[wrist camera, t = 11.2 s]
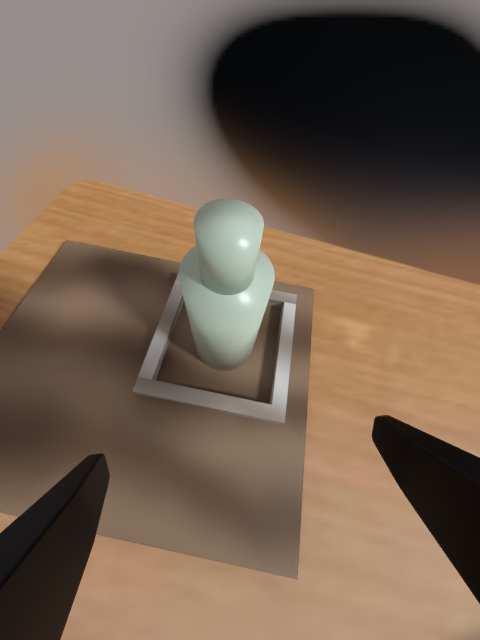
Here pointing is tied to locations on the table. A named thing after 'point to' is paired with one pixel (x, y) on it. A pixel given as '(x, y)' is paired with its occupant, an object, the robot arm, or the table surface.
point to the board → (157, 410)
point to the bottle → (226, 282)
